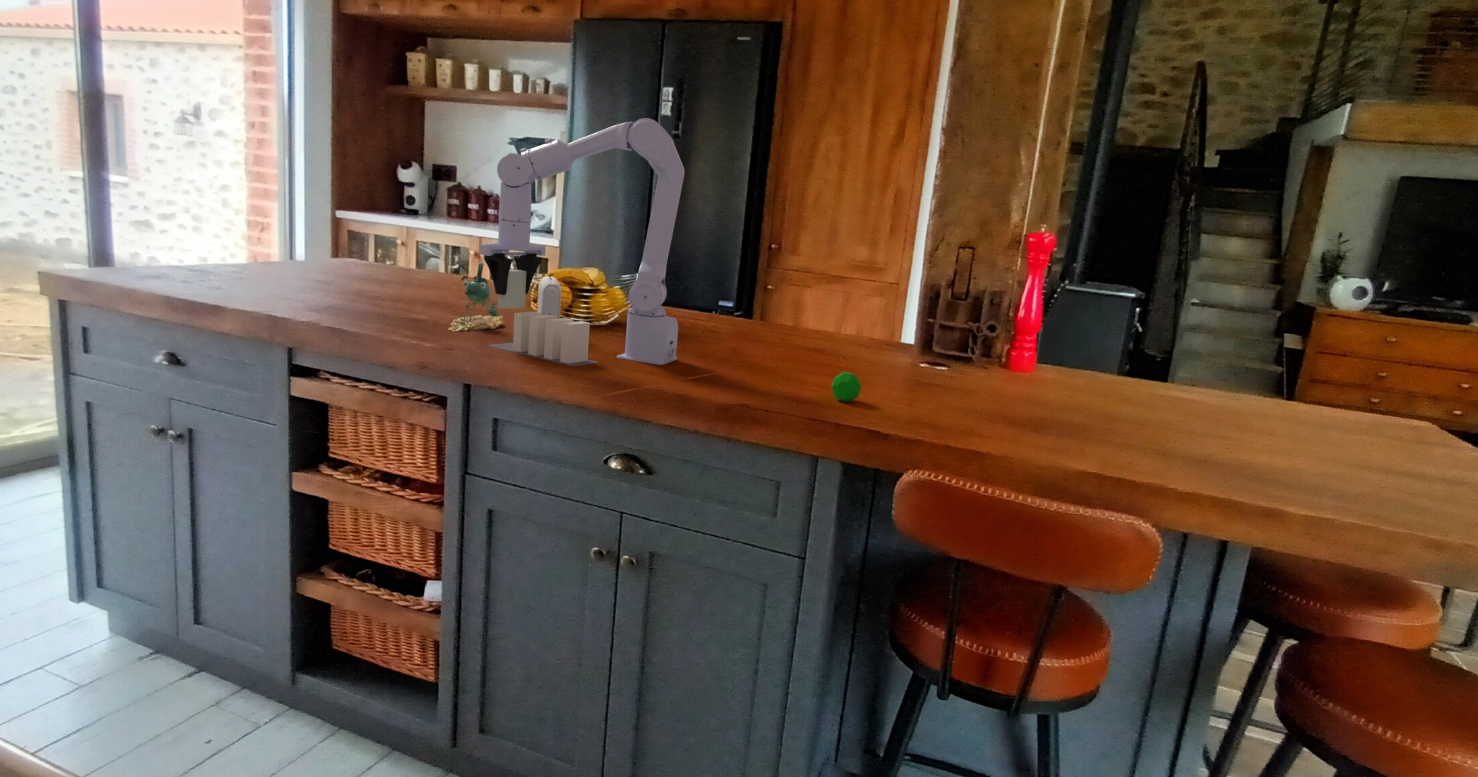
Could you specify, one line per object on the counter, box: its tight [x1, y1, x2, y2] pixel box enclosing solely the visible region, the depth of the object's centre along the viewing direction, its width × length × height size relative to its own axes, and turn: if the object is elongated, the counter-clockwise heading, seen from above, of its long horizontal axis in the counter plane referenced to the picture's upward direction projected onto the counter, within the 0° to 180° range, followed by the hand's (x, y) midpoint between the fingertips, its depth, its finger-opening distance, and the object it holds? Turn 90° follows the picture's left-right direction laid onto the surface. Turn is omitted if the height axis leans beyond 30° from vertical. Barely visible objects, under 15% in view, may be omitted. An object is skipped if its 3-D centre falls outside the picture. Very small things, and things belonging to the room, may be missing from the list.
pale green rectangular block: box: [497, 269, 526, 310], centre depth 165 cm, size 2×5×7 cm, turn 147°
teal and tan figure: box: [447, 262, 504, 332], centre depth 184 cm, size 10×18×15 cm, turn 155°
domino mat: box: [486, 341, 600, 367], centre depth 162 cm, size 22×7×1 cm, turn 57°
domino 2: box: [528, 315, 557, 356], centre depth 161 cm, size 2×5×7 cm, turn 148°
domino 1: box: [512, 311, 542, 352], centre depth 163 cm, size 2×5×7 cm, turn 147°
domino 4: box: [560, 320, 591, 364], centre depth 157 cm, size 2×5×7 cm, turn 147°
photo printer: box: [537, 275, 562, 319], centre depth 182 cm, size 10×4×12 cm, turn 17°
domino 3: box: [544, 317, 574, 360], centre depth 159 cm, size 2×5×7 cm, turn 148°
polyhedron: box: [831, 371, 862, 403], centre depth 148 cm, size 5×5×5 cm
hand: (512, 293), depth 165 cm, fingers closed on pale green rectangular block, 5 cm apart
